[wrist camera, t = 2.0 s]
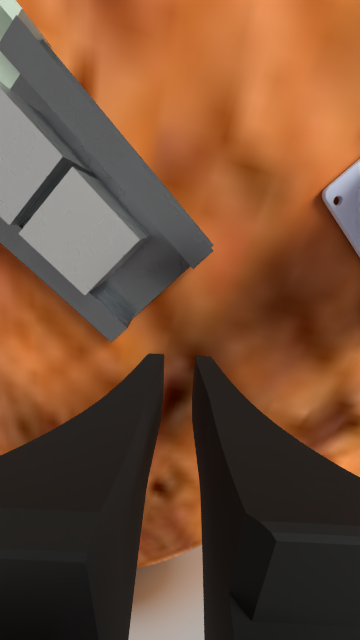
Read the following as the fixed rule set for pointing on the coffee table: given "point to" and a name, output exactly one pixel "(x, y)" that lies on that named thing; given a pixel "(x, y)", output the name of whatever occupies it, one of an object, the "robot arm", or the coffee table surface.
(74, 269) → the grey cube
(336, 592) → the robot arm
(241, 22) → the coffee table surface
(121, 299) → the slot board
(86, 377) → the coffee table surface
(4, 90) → the chip
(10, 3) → the tray
